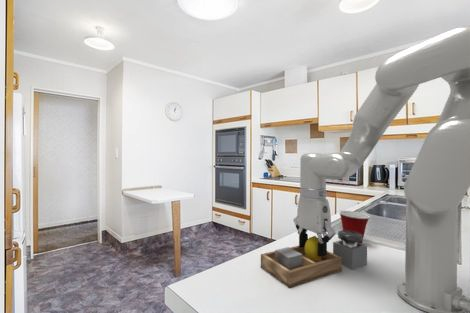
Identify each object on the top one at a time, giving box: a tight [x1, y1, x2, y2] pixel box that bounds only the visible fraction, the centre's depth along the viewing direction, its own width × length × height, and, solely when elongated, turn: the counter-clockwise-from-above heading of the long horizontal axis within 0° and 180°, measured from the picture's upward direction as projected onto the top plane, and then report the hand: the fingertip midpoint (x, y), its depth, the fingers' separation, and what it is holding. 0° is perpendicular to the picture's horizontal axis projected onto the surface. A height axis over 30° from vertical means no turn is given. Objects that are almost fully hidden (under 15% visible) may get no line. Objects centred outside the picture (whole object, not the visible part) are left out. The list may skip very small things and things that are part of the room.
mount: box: [332, 239, 368, 270], centre depth 77 cm, size 7×7×6 cm
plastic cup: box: [338, 210, 371, 244], centre depth 94 cm, size 11×11×12 cm
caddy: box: [260, 245, 343, 289], centre depth 73 cm, size 13×20×6 cm, turn 118°
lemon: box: [305, 235, 322, 262], centre depth 75 cm, size 6×6×8 cm
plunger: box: [337, 229, 362, 248], centre depth 77 cm, size 7×7×8 cm
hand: (312, 250), depth 75 cm, fingers open, 7 cm apart
